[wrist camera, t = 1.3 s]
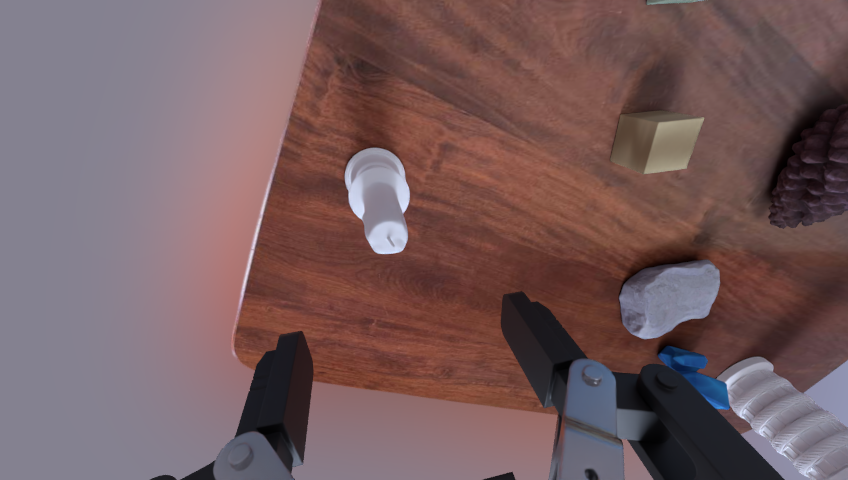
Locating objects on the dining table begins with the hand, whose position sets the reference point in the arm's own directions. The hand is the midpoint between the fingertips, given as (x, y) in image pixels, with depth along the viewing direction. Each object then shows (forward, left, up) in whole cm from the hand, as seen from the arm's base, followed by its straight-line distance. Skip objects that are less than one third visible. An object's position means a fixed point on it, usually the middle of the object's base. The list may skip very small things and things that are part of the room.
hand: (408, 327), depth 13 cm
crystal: (+36, +44, -19) cm, 60 cm away
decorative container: (+48, +63, -19) cm, 81 cm away
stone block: (+20, +36, -19) cm, 45 cm away
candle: (0, 0, -19) cm, 19 cm away
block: (-1, +26, -19) cm, 32 cm away
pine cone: (+3, +49, -19) cm, 53 cm away
